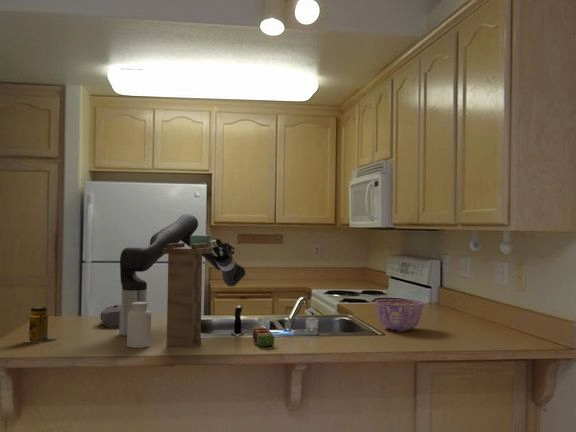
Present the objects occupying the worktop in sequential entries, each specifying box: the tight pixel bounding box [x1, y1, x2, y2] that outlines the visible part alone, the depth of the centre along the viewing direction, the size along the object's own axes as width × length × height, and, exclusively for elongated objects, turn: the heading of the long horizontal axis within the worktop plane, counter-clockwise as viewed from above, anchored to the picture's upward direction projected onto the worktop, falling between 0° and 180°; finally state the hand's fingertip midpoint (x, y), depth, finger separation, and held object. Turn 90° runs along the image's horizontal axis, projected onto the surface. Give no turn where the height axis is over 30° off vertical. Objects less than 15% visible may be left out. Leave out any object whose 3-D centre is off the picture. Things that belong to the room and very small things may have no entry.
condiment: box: [23, 306, 55, 344], centre depth 196 cm, size 7×8×12 cm
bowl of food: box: [374, 298, 425, 332], centre depth 227 cm, size 20×20×12 cm
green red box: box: [252, 326, 275, 348], centre depth 196 cm, size 21×6×5 cm, turn 12°
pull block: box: [190, 234, 218, 248], centre depth 215 cm, size 22×6×5 cm, turn 168°
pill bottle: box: [126, 301, 152, 349], centre depth 189 cm, size 8×8×15 cm
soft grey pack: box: [100, 304, 122, 329], centre depth 232 cm, size 15×8×20 cm
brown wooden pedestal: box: [163, 242, 211, 349], centre depth 194 cm, size 13×13×36 cm
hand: (212, 240), depth 220 cm, fingers closed on pull block, 3 cm apart
